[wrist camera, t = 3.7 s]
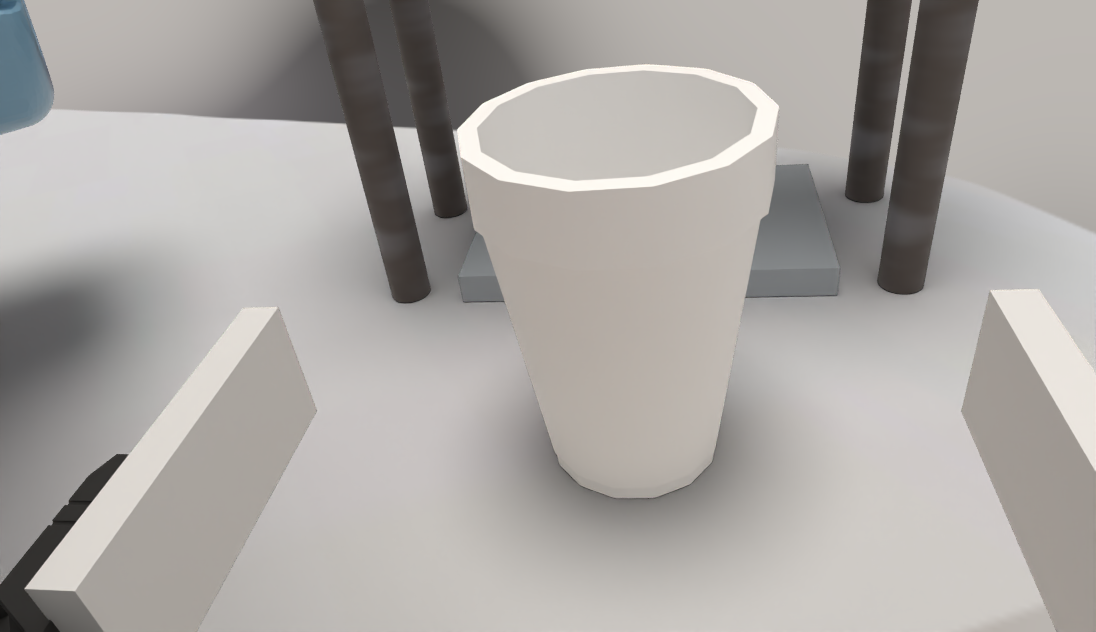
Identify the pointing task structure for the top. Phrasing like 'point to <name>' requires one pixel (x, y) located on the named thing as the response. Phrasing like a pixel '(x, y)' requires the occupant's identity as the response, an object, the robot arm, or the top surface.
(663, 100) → the foam cup
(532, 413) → the top surface
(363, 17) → the wooden top stool
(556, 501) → the top surface
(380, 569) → the top surface
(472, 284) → the shelf board
